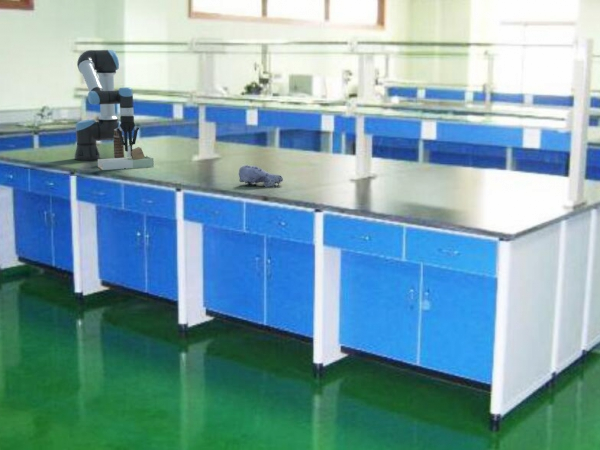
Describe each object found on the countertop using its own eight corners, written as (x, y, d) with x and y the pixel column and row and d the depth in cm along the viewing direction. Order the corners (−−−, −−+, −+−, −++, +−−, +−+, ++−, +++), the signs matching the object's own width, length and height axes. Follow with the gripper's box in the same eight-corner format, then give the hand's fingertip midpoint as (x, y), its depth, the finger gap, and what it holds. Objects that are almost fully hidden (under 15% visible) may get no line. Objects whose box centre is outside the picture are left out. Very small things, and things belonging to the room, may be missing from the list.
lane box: (98, 167, 480) (97, 158, 479) (148, 164, 492) (147, 155, 491) (102, 170, 469) (102, 161, 468) (153, 166, 481) (153, 157, 480)
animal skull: (277, 192, 410) (278, 172, 406) (234, 187, 415) (235, 167, 412) (285, 185, 422) (286, 165, 419) (243, 180, 427) (244, 161, 424)
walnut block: (132, 160, 484) (128, 150, 482) (142, 156, 486) (138, 146, 484) (135, 161, 479) (131, 152, 477) (145, 157, 481) (141, 147, 479)
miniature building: (111, 164, 490) (109, 130, 486) (108, 162, 500) (106, 128, 496) (129, 163, 494) (128, 129, 490) (126, 161, 504) (124, 127, 499)
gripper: (117, 116, 469) (119, 158, 474) (140, 115, 475) (142, 157, 479) (113, 115, 475) (115, 157, 480) (136, 114, 481) (138, 155, 486)
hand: (128, 157), depth 480 cm, fingers closed
